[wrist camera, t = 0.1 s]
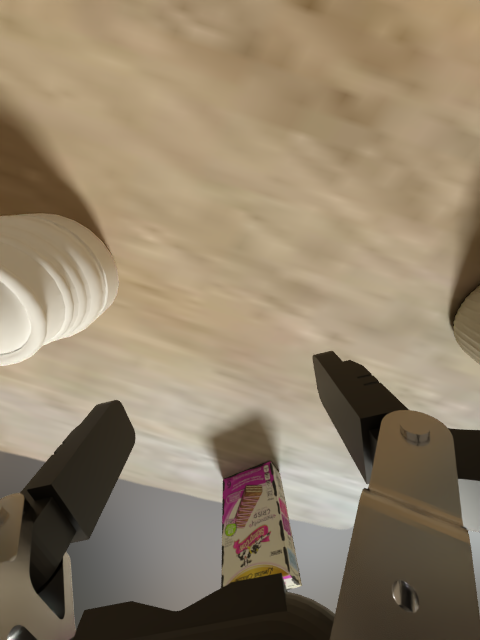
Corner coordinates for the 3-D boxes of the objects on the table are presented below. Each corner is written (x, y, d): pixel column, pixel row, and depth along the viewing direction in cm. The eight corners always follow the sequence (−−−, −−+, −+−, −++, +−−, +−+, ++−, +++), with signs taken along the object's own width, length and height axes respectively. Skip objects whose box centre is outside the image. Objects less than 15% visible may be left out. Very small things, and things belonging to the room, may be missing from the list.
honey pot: (50, 331, 32) (-123, 460, 16) (-25, 235, 27) (-406, 287, 10) (138, 302, 31) (47, 409, 15) (79, 196, 26) (-165, 187, 9)
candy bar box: (270, 458, 47) (291, 575, 33) (280, 471, 49) (304, 586, 35) (220, 478, 49) (219, 597, 34) (232, 490, 51) (236, 606, 36)
